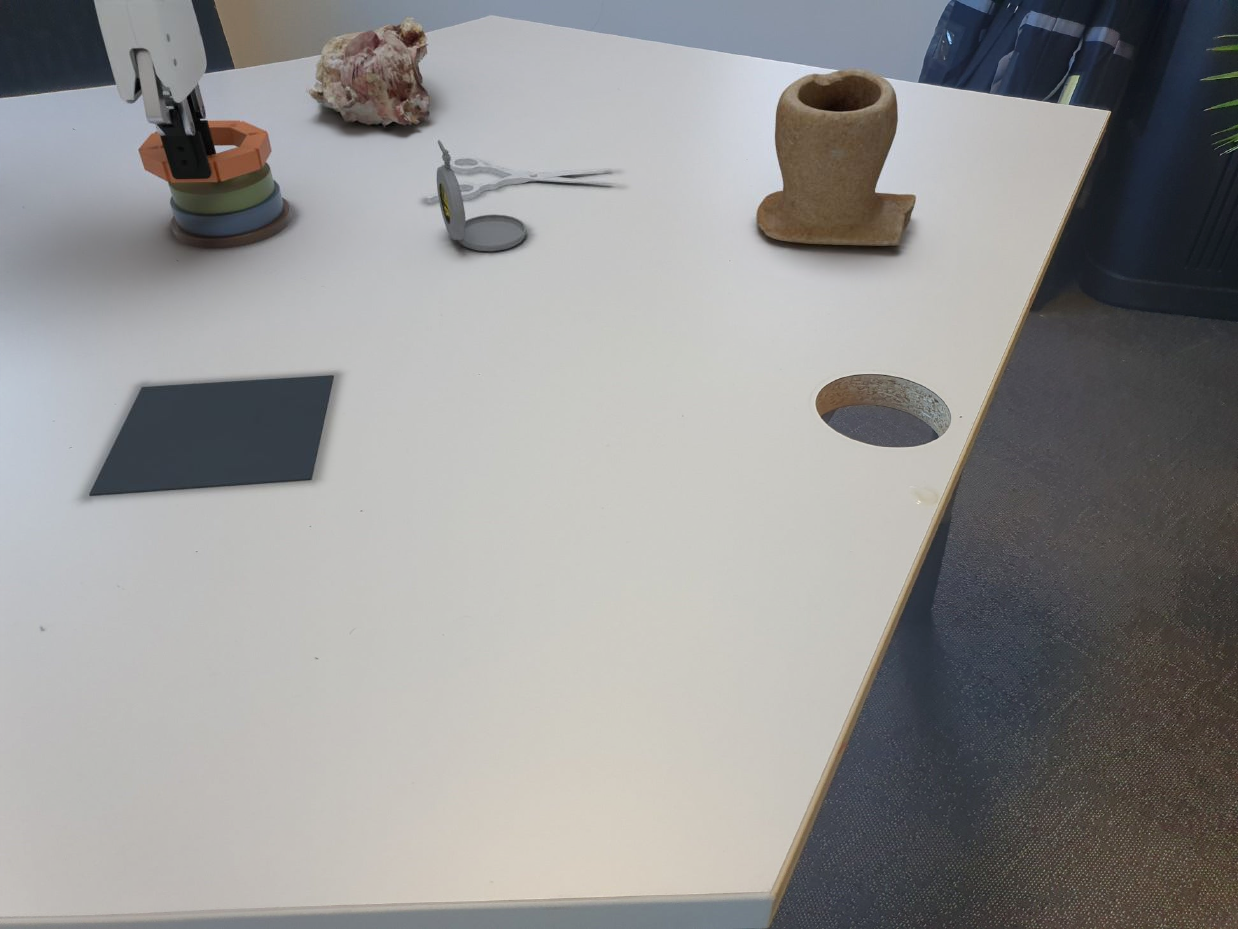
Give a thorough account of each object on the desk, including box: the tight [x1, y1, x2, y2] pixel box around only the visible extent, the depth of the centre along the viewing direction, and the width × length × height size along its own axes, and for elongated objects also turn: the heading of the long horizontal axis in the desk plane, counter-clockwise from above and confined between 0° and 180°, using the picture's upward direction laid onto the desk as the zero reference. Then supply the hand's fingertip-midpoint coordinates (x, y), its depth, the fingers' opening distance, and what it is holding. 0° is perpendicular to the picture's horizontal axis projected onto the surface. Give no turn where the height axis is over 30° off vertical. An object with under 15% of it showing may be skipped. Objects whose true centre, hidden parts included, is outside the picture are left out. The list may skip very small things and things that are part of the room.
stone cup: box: [755, 68, 917, 247], centre depth 82 cm, size 15×12×15 cm
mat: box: [88, 374, 335, 497], centre depth 63 cm, size 14×12×1 cm
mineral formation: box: [305, 17, 431, 128], centre depth 111 cm, size 23×16×10 cm
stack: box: [167, 161, 293, 250], centre depth 87 cm, size 11×11×6 cm
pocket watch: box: [436, 139, 527, 252], centre depth 83 cm, size 8×8×10 cm
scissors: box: [426, 156, 618, 204], centre depth 96 cm, size 11×1×20 cm
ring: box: [137, 120, 273, 183], centre depth 84 cm, size 11×11×2 cm
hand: (196, 170), depth 81 cm, fingers closed on ring, 2 cm apart
